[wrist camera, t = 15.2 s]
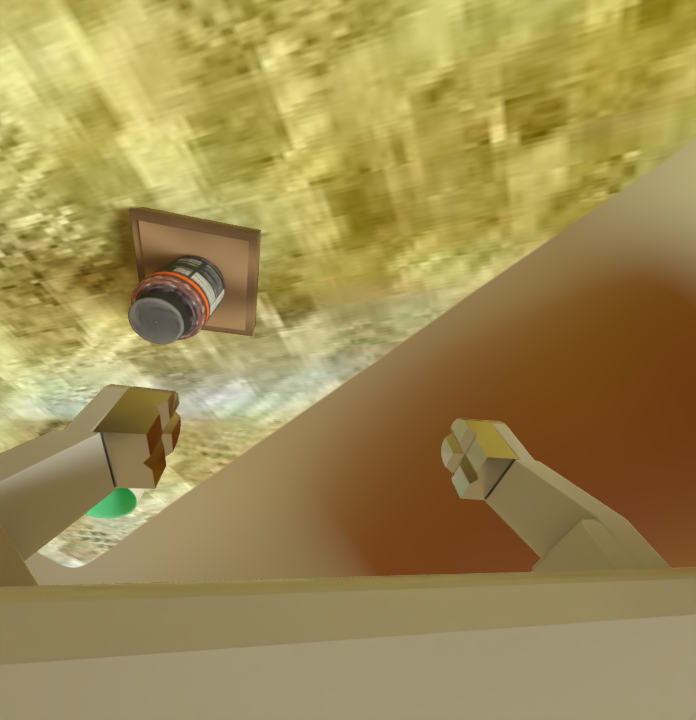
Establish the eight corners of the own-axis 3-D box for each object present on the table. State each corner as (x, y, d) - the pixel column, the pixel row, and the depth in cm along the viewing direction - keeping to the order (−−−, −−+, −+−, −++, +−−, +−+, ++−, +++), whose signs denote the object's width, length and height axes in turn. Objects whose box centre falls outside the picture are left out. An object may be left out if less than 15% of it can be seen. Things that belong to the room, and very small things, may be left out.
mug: (73, 432, 45) (16, 494, 36) (95, 398, 43) (39, 455, 34) (154, 463, 50) (121, 524, 41) (177, 434, 48) (148, 492, 39)
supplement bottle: (183, 311, 34) (135, 361, 25) (159, 258, 31) (93, 292, 22) (235, 302, 35) (207, 348, 25) (216, 249, 32) (176, 278, 22)
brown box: (143, 207, 32) (127, 209, 29) (260, 230, 34) (256, 234, 31) (155, 312, 37) (143, 323, 35) (255, 326, 40) (251, 337, 37)
